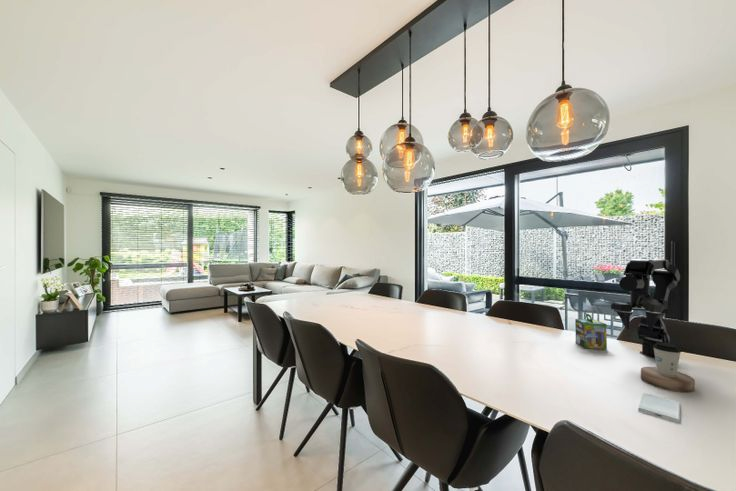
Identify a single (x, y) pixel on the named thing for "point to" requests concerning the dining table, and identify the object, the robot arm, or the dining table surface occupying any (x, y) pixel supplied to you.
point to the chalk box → (591, 333)
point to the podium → (668, 380)
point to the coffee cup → (666, 358)
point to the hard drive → (660, 407)
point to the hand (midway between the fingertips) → (638, 329)
